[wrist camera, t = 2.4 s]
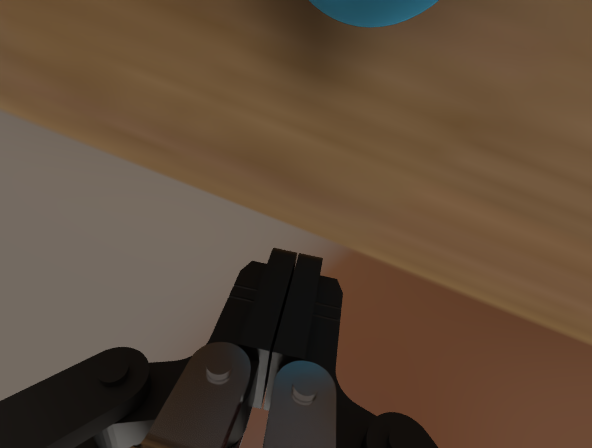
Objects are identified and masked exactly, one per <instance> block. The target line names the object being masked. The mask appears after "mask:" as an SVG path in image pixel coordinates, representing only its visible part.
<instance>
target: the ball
mask: <svg viewBox="0 0 592 448" xmlns="http://www.w3.org/2000/svg"><path fill="white" fill-rule="evenodd" d="M309 1H310V2H311V3H312V4H313V5H314V6H315V7H317V8H318V9H319V10H320V11H322V12H323V13H325V14H326V15H328V16H330V17H331V18H333V19H335V20H338V21H340V22H343V23H345V24H349V25H354V26H359V27H383V26H388V25H393V24H397V23H400V22H403V21H406V20H408V19H410V18H412V17H414V16H416V15H418V14H420V13H422V12H423V11H425V10H426V9H428V8H430V7H431V6H433V5H434V4H435V3H436V2H437V1H439V0H309Z"/></svg>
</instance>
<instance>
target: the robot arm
mask: <svg viewBox="0 0 592 448" xmlns="http://www.w3.org/2000/svg"><path fill="white" fill-rule="evenodd" d="M296 258H297V253H296V252H291V251H286V250H282V249H277V248H273V250H272V252H271V255H270V258H269V260H268V263H267V264H264V263H260V262H255V261H251V262H250V263H249V264H248V265H247V266H246V267H244V268H243V269H242V270H241V271H240V273H239V275H238V277H237V280H236V282H235V284H234V287H233V288H232V290H231V293H230V295H229V298H228V300H227V302H226V304H225V306H224V308H223V311H222V313H221V315H220V317H219V319H218V322H217V324H216V326H215V329H214V331H213V333H212V335H211V337H210V339H209V341H208V343H207V344H206V345H205V346H203V347H201V348H200V349H199V350H197V351H196V352H195V353H194V354H193V356H191V357H188V358H186V359H182V360H178V361H168V362H154V363H148V360H147V358H146V357H145V356H144V354H142V353H141V352H140V351H138V350H135V349H133V348H129V347H117V348H112V349H108V350H105V351H103V352H101V353H99V354H97V355H95V356H92V357H91V358H88V359H86V360H84V361H82V362H80V363H78V364H76V365H74V366H72V367H70V368H68V369H66V370H64V371H61V372H59V373H57V374H55V375H53V376H51V377H49V378H47V379H45V380H43V381H41V382H39V383H37V384H35V385H33V386H30V387H29V388H26V389H24V390H22V391H20V392H18V393H16V394H14V395H12V396H10V397H8V398H6V399H4V400H2V401H0V448H239V447H240V444H241V441H242V438H243V434H244V432H245V430H246V427H247V423H248V420H249V417H250V413H251V409H252V407H256V408H260V409H261V407H262V403H263V399H264V395H265V391H266V397H265V403H264V409H265V410H269V414H268V420H267V425H266V432H265V437H264V443H263V448H438V447H437V445H436V444H435V443H434V441H433V440H432V439H431V437H430V436H429V435H428V433H427V432H426V431H425V430H424V428H423V427H422V426H421V425H420V424H418V423H417V422H416V421H415V420H413V419H412V418H410V417H408V416H406V415H403V414H400V413H395V412H388V413H383V414H381V415H379V416H376V415H374V414H372V413H370V412H369V411H367V410H365V409H364V408H362V407H360V406H359V405H357V404H356V403H354V402H352V400H350V399H349V398H348V397H347V396H346V394H345V393H344V392H343V391H342V389H341V388H340V386H339V384H338V381H337V378H336V372H335V371H336V370H335V369H336V357H337V347H338V336H339V326H340V317H341V307H342V297H343V292H342V290H341V288H340V285H339V283H338V281H337V279H334V278H330V277H325V276H320V272H321V266H322V260H323V258H320V257H315V256H310V255H306V254H301V253H299V255H298V259H297V263H296ZM295 264H296V266H295ZM267 383H268V384H267ZM266 387H267V390H266Z"/></svg>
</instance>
